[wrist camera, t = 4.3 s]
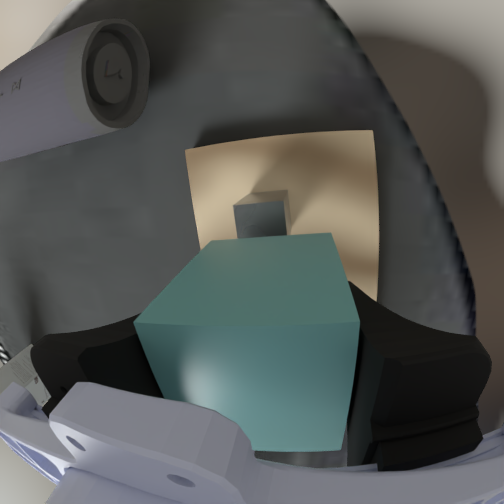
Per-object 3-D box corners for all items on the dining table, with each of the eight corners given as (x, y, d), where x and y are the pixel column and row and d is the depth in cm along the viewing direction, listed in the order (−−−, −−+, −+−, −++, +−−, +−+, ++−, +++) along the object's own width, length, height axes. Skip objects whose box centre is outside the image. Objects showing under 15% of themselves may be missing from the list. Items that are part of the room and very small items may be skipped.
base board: (367, 345, 23) (370, 355, 22) (228, 350, 26) (224, 360, 24) (367, 131, 18) (372, 130, 16) (192, 150, 20) (185, 149, 19)
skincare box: (59, 388, 36) (14, 440, 22) (36, 370, 36) (-10, 417, 23) (53, 359, 33) (-3, 416, 19) (29, 339, 33) (-27, 389, 20)
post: (291, 227, 19) (288, 250, 15) (254, 230, 20) (239, 253, 15) (287, 189, 19) (283, 200, 14) (249, 193, 19) (232, 205, 14)
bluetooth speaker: (163, 36, 17) (90, -11, 8) (156, 138, 20) (67, 136, 11) (13, 93, 21) (-48, 94, 11) (9, 163, 24) (-53, 177, 14)
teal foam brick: (331, 335, 13) (340, 449, 7) (228, 337, 14) (186, 441, 8) (331, 232, 11) (359, 321, 5) (210, 240, 12) (133, 322, 6)
